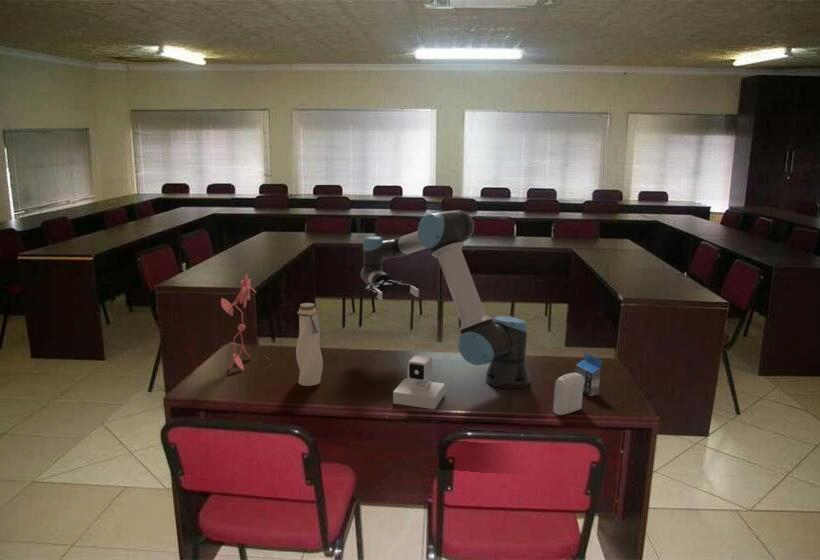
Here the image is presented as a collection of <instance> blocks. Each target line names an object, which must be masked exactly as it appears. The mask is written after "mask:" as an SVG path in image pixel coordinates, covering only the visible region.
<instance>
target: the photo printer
mask: <svg viewBox="0 0 820 560" xmlns="http://www.w3.org/2000/svg"><path fill="white" fill-rule="evenodd" d="M583 384H584V379H583V376H582V375H581V374H578V373H575V372H569V373H566V374H563V375H562V376H559V377H558V378H557V379H556V380H555V382H554V390H553V391H554V392H553V393H554V394H553V406H552V407H553V408H552V411H553V413H554V414H555V415H557V416H561V415H562V416H563V415H566V414H571V413H573V412H576V411H579V410H582V406H583V404H582V403H583V397H584V396H583Z"/></svg>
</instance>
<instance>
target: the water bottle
mask: <svg viewBox="0 0 820 560" xmlns="http://www.w3.org/2000/svg"><path fill="white" fill-rule="evenodd" d="M296 314H297V316H298V317H299V318H298V320H299V321H298V323H299V324H298V325H299V328H298V329H299V330H298V331H299V333H298V337H297V343H296V347H295V354H296V355H295V356H296V362H297V363H296V364H297V367H298V368H299V376H298V384H299V385H301V386H304V387H312V386H317V385H319V384H320V383H321V381H322V379H321V377H322V373H323V368H324V364H323V356H322V352H321V348H320V347H321V345H320V335H321V330H320V324H319V323H320V322H319V315H318V314H319V311H318V310H316V307H315V303H312V302H304V303H300V305H299V309H298V311H297V312H296Z"/></svg>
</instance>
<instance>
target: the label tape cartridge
mask: <svg viewBox="0 0 820 560" xmlns="http://www.w3.org/2000/svg"><path fill="white" fill-rule="evenodd" d="M583 357H584V358H583V359H582V360H581V361H579V362H578V363H576V364H575V369H574V373H578V374H581V375H582V376H583V379H584V384H583V393H584V394H585V395H587V396H588V395H589V397H590V396H592V397H595V396H594V395H596V396H598V395H599V392H600V390H599V389H600V379H601V368H602V361H603V360H601V359H598V358H597V357H595V356H593V355H591V354H589V353H587V352H584V356H583ZM592 360H593V361H592Z"/></svg>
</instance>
